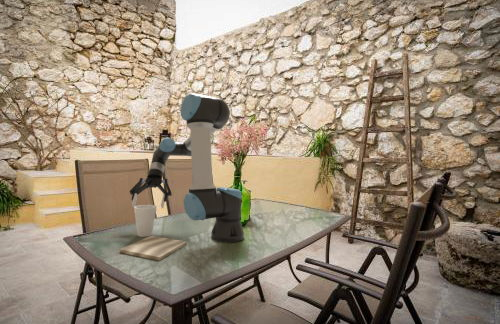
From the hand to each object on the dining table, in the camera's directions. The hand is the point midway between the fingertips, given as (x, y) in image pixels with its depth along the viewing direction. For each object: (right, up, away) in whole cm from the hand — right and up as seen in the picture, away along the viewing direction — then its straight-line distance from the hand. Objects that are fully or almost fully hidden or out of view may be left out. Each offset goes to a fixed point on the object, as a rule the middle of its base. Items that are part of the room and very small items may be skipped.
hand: (147, 206), depth 130 cm
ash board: (+11, -13, -22) cm, 28 cm away
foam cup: (+1, -12, -6) cm, 14 cm away
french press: (+45, -13, +30) cm, 56 cm away
